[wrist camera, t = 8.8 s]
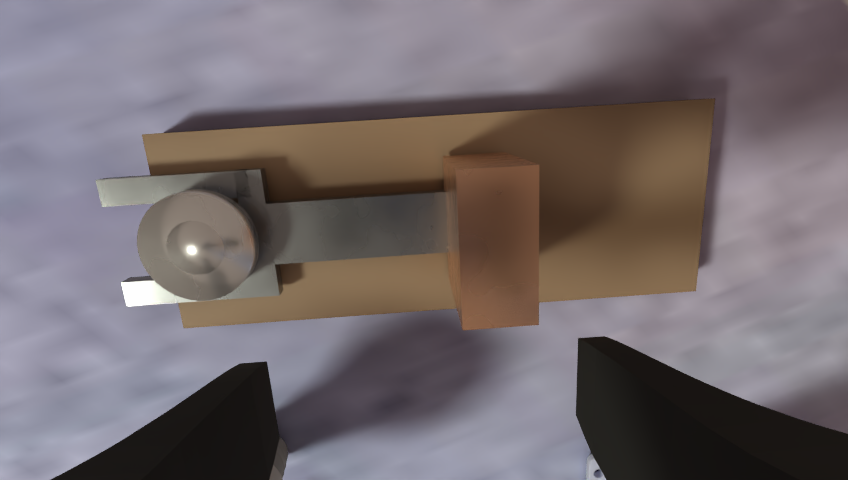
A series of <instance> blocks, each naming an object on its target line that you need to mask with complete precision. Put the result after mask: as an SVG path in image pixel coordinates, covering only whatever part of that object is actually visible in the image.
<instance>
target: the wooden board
mask: <svg viewBox="0 0 848 480" xmlns="http://www.w3.org/2000/svg"><path fill="white" fill-rule="evenodd" d="M714 104H715V98H714V99H696V100H679V101H664V102H648V103H632V104H616V105H600V106H585V107H569V108H553V109H537V110H521V111H505V112H490V113H474V114H458V115H442V116H426V117H410V118H395V119H379V120H363V121H347V122H331V123H315V124H300V125H284V126H268V127H252V128H236V129H220V130H205V131H189V132H173V133H158V134H144V135H142V137H143V142H144V147H145V151H146V156H147V160H148V165H149V170H150V174H151V175H160V174H175V173H190V172H206V171H221V170H236V169H252V168H265V171H266V177H267V184H268V190H269V197H270V201H280V200H295V199H310V198H325V197H340V196H355V195H370V194H385V193H400V192H415V191H430V190H444V175H443V156H451V155H466V154H482V153H497V152H506V153H509V154H511V155H514V156H517V157H519V158H522V159H525V160H528V161H530V162H533V163H536V164H539V302H551V301H565V300H579V299H592V298H606V297H620V296H634V295H647V294H661V293H675V292H689V291H696V284H697V274H698V264H699V254H700V244H701V234H702V224H703V214H704V204H705V194H706V184H707V174H708V164H709V154H710V144H711V134H712V124H713V114H714ZM231 199H233V200H234V201H235V202H237V203H238V198H231ZM238 204H239V203H238ZM280 270H281V277H282V284H283V291H282V293H281V294H280V296H267V297H253V298H239V299H225V300H211V301H197V302H183V303H178V304H179V309H180V313H181V318H182V323H183V327H184V328H194V327H208V326H221V325H235V324H249V323H263V322H276V321H290V320H304V319H318V318H331V317H345V316H359V315H373V314H386V313H400V312H414V311H427V310H441V309H455V308H456V304H455V300H454V296H453V293H452V289H451V285H450V282H449V276H448V256H447V253H432V254H418V255H404V256H390V257H375V258H361V259H347V260H332V261H318V262H304V263H289V264H280Z"/></svg>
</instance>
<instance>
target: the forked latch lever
mask: <svg viewBox="0 0 848 480" xmlns="http://www.w3.org/2000/svg"><path fill="white" fill-rule="evenodd" d="M443 175H444V190H430V191H415V192H400V193H385V194H370V195H355V196H340V197H325V198H310V199H295V200H280V201H270V197H269V190H268V184H267V177H266V171H265V168H252V169H236V170H221V171H206V172H190V173H175V174H160V175H144V176H129V177H114V178H103V179H99V180H96V184H97V188H98V192H99V196H100V200H101V204H102V207H109V206H124V205H139V204H154V203H156V202H158V201H159V200H161V199H163V198H165V197H167V196H170V195H173V194H176V193H179V192H182V191H185V190H191V189H206V190H212V191H216V192H219V193H221V194H224V195H226V196H228V197H229V198H238V203H239V205H240V206H241V207H243V209H244V210H245V211H246V212H247V213H248V215H249V216H250V217H251V219H252V221H253V223H254V225H255V227H256V230H257V233H258V237H259V245H260V246H259V256H258V260H257V263H256V265H255V267H254V269H253V271H252V272H251V274H250V275H249V276H248V277H247V278H246V279H245V280H244V281H243V282H242V283H241V284H240V286H239V287H238V288H236V289H235V290H234V291H233V292H231V293H229V294H227V295H226V296H223V297H221V298H217V299H214V300H225V299H239V298H253V297H267V296H280V294H281V293H282V291H283V284H282V277H281V270H280V264H289V263H304V262H318V261H332V260H347V259H361V258H375V257H390V256H404V255H418V254H432V253H447V256H448V276H449V282H450V285H451V289H452V293H453V296H454V300H455V304H456V308H457V311H458V315H459V319H460V322H461V326H462V330H474V329H488V328H502V327H515V326H529V325H539V164H536V163H533V162H530V161H528V160H525V159H522V158H519V157H517V156H514V155H511V154H509V153H506V152H497V153H482V154H466V155H451V156H443ZM121 285H122V289H123V293H124V297H125V301H126V305H127V306H141V305H155V304H169V303H183V302H197V301H196V300H189V299H185V298H182V297H179V296H176V295H174V294H172V293H170V292H168V291H167V290H165V289H164V288H162V287H161V286H160V285H158V284H157V283H156V282H155V281H154V280H153V279H152V278H151V276H144V277H130V278H128V279H126V280H125V281H123V282H121ZM207 301H211V300H207Z"/></svg>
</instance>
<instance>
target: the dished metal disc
mask: <svg viewBox="0 0 848 480" xmlns="http://www.w3.org/2000/svg"><path fill="white" fill-rule="evenodd" d="M259 246H260V245H259V237H258V233H257V230H256V227H255V225H254V223H253V221H252V219H251V217H250V216H249V215H248V213H247V212H246V211H245V210H244V209H243V207H241V206H240V205H239V204H238V203H237V202H235V201H234V200H233V199H231V198H229V197H228V196H226V195H224V194H221V193H219V192H216V191H212V190H206V189H191V190H185V191H182V192H179V193H176V194H173V195H170V196H167V197H165V198H163V199H161V200H159V201H158V202H156V203H155V204H154V205H153V206H151V207H150V209H149V210H148V211H147V212H146V214H145V215H144V217H143V218H142V221H141V223H140V225H139V229H138V235H137V247H138V253H139V256H140V259H141V261H142V264H143V266H144V268H145V269H146V271H147V272H148V274H149V275H150V276H151V278H152V279H153V280H154V281H155V282H156V283H157V284H158V285H160V286H161V287H162V288H164V289H165V290H167V291H168V292H170V293H172V294H174V295H176V296H179V297H182V298H185V299H189V300H196V301H207V300H214V299H217V298H221V297H223V296H226V295H227V294H229V293H231V292H233V291H234V290H235V289H236V288H238V287H239V286H240V284H241V283H242V282H243V281H244V280H245V279H246V278H247V277H248V276H249V275H250V274H251V272H252V271H253V269H254V267H255V265H256V263H257V260H258V256H259Z"/></svg>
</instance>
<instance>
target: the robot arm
mask: <svg viewBox="0 0 848 480" xmlns="http://www.w3.org/2000/svg"><path fill="white" fill-rule="evenodd" d="M576 416H577V419H578V421H579V424H580V426H581V429H582V431H583V434H584V436H585V439H586V441H587V443H588V446H589V448H590V450H591V453H592V454H591V455H589V457H588V458H587V466H586V480H848V434H846V433H842V432H839V431H835V430H832V429H829V428H825V427H822V426H819V425H815V424H812V423H809V422H806V421H803V420H800V419H797V418H794V417H791V416H788V415H785V414H783V413H780V412H777V411H774V410H771V409H769V408H766V407H763V406H760V405H757V404H755V403H752V402H750V401H747V400H744V399H742V398H739V397H737V396H734V395H732V394H730V393H727V392H725V391H723V390H720V389H718V388H716V387H713V386H711V385H709V384H706V383H704V382H702V381H700V380H697V379H695V378H693V377H691V376H689V375H687V374H684V373H682V372H680V371H678V370H676V369H674V368H672V367H670V366H668V365H666V364H663V363H661V362H659V361H657V360H655V359H653V358H651V357H649V356H647V355H645V354H643V353H641V352H639V351H637V350H635V349H633V348H631V347H629V346H626V345H624V344H622V343H620V342H618V341H615V340H613V339H610V338H607V337H605V336H603V337H590V338H578V366H577V400H576ZM279 439H280V438H279V432H278V426H277V420H276V414H275V408H274V402H273V396H272V390H271V384H270V378H269V372H268V366H267V362H255V363H242V364H239V365H237V366H235V367H233V368H231V369H230V370H228V371H226V372H225V373H223V374H222V375H220V376H219V377H217V378H216V379H214V380H213V381H211V382H210V383H208V384H207V385H206V386H204V387H203V388H201V389H200V390H198V391H197V392H195V393H194V394H192V395H191V396H189V397H188V398H187V399H185V400H184V401H182V402H181V403H179V404H178V405H176V406H175V407H173V408H172V409H170V410H169V411H167V412H166V413H164V414H163V415H161V416H160V417H158V418H157V419H155V420H153V421H152V422H150V423H149V424H147V425H145V426H144V427H142V428H141V429H139V430H138V431H136V432H134V433H133V434H131V435H130V436H128V437H127V438H125V439H123V440H122V441H120V442H118V443H117V444H115V445H113V446H112V447H110V448H108V449H107V450H105V451H103V452H101V453H100V454H98V455H96V456H94V457H92V458H91V459H89V460H87V461H85V462H83V463H81V464H79V465H78V466H76V467H74V468H72V469H70V470H68V471H66V472H65V473H63V474H61V475H59V476H57V477H55V478H53V479H51V480H269V479H270V475H271V472H272V468H273V464H274V460H275V456H276V451H277V447H278V443H279ZM598 469H600V470H599V471H597V472H595V471H596V470H598Z"/></svg>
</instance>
